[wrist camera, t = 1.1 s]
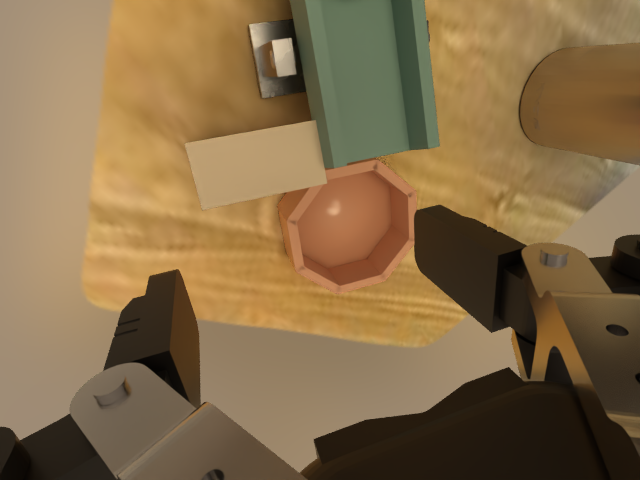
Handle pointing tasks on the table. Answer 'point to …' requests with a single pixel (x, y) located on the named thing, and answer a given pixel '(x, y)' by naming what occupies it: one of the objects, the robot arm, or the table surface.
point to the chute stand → (278, 58)
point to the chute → (333, 103)
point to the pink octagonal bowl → (349, 226)
